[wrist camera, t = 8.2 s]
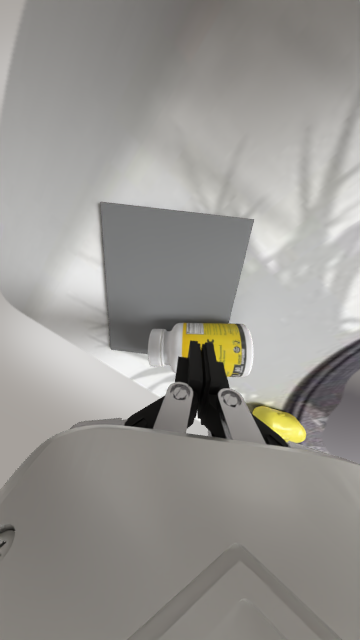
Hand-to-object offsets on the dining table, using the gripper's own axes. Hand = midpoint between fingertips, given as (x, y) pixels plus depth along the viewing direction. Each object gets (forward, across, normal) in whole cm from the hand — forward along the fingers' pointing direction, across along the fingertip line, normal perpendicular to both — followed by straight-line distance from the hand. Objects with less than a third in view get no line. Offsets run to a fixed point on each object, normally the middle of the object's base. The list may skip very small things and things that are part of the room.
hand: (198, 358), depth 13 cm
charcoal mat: (+8, +3, -2) cm, 9 cm away
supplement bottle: (+5, -6, +2) cm, 7 cm away
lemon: (+8, -14, +14) cm, 22 cm away
